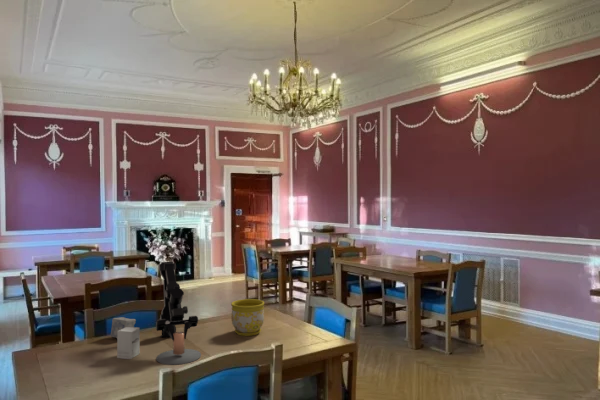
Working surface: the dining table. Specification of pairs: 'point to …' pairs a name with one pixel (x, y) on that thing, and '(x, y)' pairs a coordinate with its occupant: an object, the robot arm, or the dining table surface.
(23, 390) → the dining table surface
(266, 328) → the dining table surface
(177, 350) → the salt shaker
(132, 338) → the supplement box
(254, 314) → the flowerpot
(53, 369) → the dining table surface
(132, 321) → the incense holder
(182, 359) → the mat
